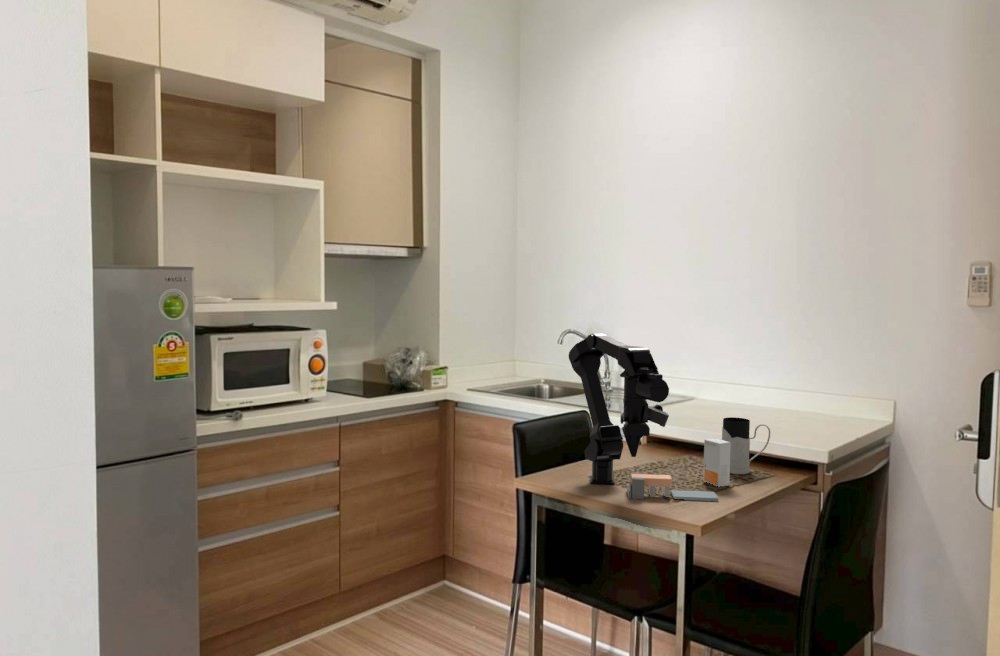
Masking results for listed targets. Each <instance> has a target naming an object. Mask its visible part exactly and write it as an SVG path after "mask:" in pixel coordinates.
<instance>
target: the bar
mask: <svg viewBox="0 0 1000 656" xmlns="http://www.w3.org/2000/svg"><path fill="white" fill-rule="evenodd" d="M630 474H631V473H630ZM632 478H644V487H649V486H655V487H663V488H664V487H670V488H672V485H673V479H672V476H671V475H670V474H649V473H645V474H644V473H642V474H631V484H632Z"/></svg>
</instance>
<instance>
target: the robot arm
mask: <svg viewBox="0 0 1000 656" xmlns="http://www.w3.org/2000/svg"><path fill="white" fill-rule="evenodd" d="M604 355H607V356H610V357H611V358H613V359H615V360H616V361H617V364H618V366H620V367H621V368H622V369H623V371H622V372H621V373H620V374H619V377H620V378H623V399H622V403H623V412H622V413H621V414H620V420H619V421H620V424H623V426H622V427H620V426H619V425H618V424H613V423H612V421H611V419H610V414H609V411H608V408H607V403H606V399H605V396H604V392H603V389H602V385H601V380H600V377H599V371H600V368H601V364H602V362H601V358H602V357H603V356H604ZM568 360H569V362H570V366H571V368H572V370H573V371H574V372H575V373H576V374H577V376H578V377H579V378H580V381H581V384H582V388H583V392H584V397H585V401H586V405H587V407H588V412H589V415H590V420H591V424H592V428H591V431H590V434H589V441H590V443H588V445H587V447H586V448H585V449H584V452H583V453H584V458H585V460H588V461H591V465H592V466H591V476H590V477H589V480H590V484H597V485H598V484H599V485H600V484H601V485H615V482H616V481H615V477H614V460H621V458H622V452H623V448H624V441H623V440H624V439H625V442H626V444H627V447H628V450H629V454H630V456H631V457H632V458H636V457H637V454H638V450H639V446H640V441H641V439H642V438H643V437H650V432H651V431H650V430H651V429H650V425H648V424H647V423H649V421H650V422H651V423H654V424H657V425H659V426H660V427H662V428H665V427H666V424H667V422H668V419H669V417H670V415H669V414H668V412H666V411H664V409H663V406H662V405H661V404H655V405H654V406H650V405H649V403H648V401H651V402H655V403H662V402H664V401H666V399H667V398H668V396H669V394H670V387H669V385H668V383H667V382H666V380H664V379H663V374H661V373H660V371H659V367H658V366H657V364H656V363H655V360H654V358H653V355H652V353H651V350H650V349H649V347H644V346H635V345H628V344H625V343H624V342H621V341H619V340H617V339H615V338H614V337H613V338H612V337H611V336H608V335H607V334H605V333H602V332H601V333H600V332H599V333H591V334H588V335H587V337H586V338H585V339H583V340H581V341H579V342H577V343H576V344H575V345H574V346H572V348H571V349H570V350H569V352H568ZM621 430H622V432H621ZM622 433H623V436H624V437H623V436H622Z"/></svg>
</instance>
